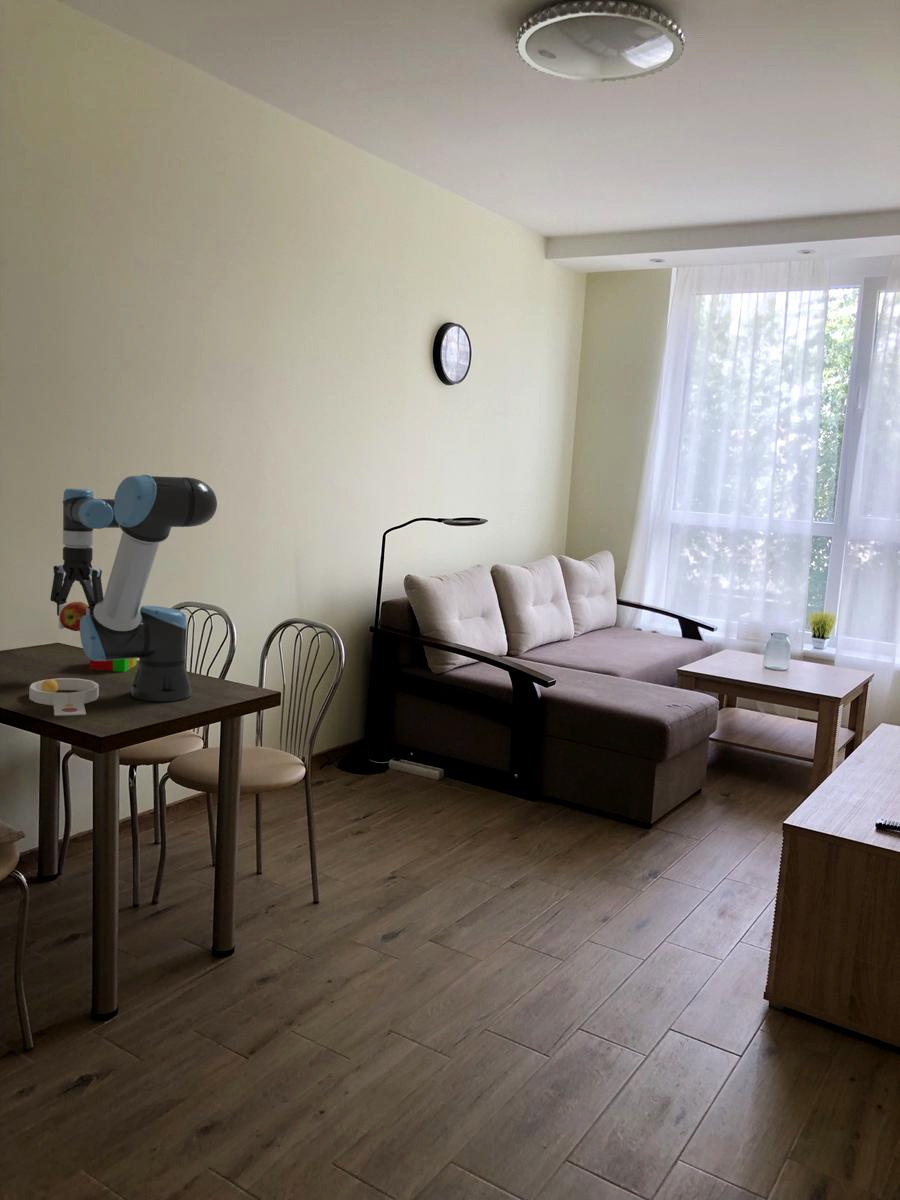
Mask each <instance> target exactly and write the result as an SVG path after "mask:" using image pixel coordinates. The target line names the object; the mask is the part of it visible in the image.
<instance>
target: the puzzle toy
mask: <svg viewBox="0 0 900 1200" xmlns="http://www.w3.org/2000/svg"><path fill="white" fill-rule="evenodd" d="M137 663H138V658H131V659H120V660H108V661H93V660H90V659H89V670H93V669H97V670H96V671H105V670H108V671H107V672H120V673H123V672H124V673H125V672H127V671H129V670H131V669H132V668H133V667H136V666H137Z"/></svg>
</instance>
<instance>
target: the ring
mask: <svg viewBox="0 0 900 1200" xmlns="http://www.w3.org/2000/svg"><path fill="white" fill-rule="evenodd" d="M51 679H52V680H54V681H56V682H57V684H58V690H57V691H71V692H56V693H52V692H45V691H42V689H41V686H42V683H43V682H44V681H45V680H48V678H47V679H43V680H38V681H35V682H32V683H31V684H30V685H29V691H28V692H29V694H28V695H29V696H28V697H29V698H28V699H29V700H30V701H33V702H34V703H36V704H40V705H41V704H42V705H47V706H54V704H72V703H83V702H84V705H85V704H88V703H90V702H94V701H97V700H98V697H99V690H100V687H99V686H100V685H99V683H97V682H95V681H94V680H90V679H83V678H74V677H73V678H72V677H71V678H67V677H66V678H65V677H64V678H63V677H60V678H58V677H57V678H51ZM73 691H74V692H73Z"/></svg>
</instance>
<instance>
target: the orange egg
mask: <svg viewBox="0 0 900 1200" xmlns="http://www.w3.org/2000/svg"><path fill="white" fill-rule="evenodd" d="M47 679H48V678H47ZM47 679H44V680H45V681H44V682H43V683H42V686H41V689H42V691H45V692H52V693H58V692H57V691H59V690H58V684H57V682H56V681H54V680H52V679H53V678H50V679H48V680H47Z"/></svg>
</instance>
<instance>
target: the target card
mask: <svg viewBox="0 0 900 1200" xmlns="http://www.w3.org/2000/svg"><path fill="white" fill-rule="evenodd" d="M53 715H54V717H58V716H86V715H87V712H86V708H85V704H84V702H83V703H72V704H54V705H53Z"/></svg>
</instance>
